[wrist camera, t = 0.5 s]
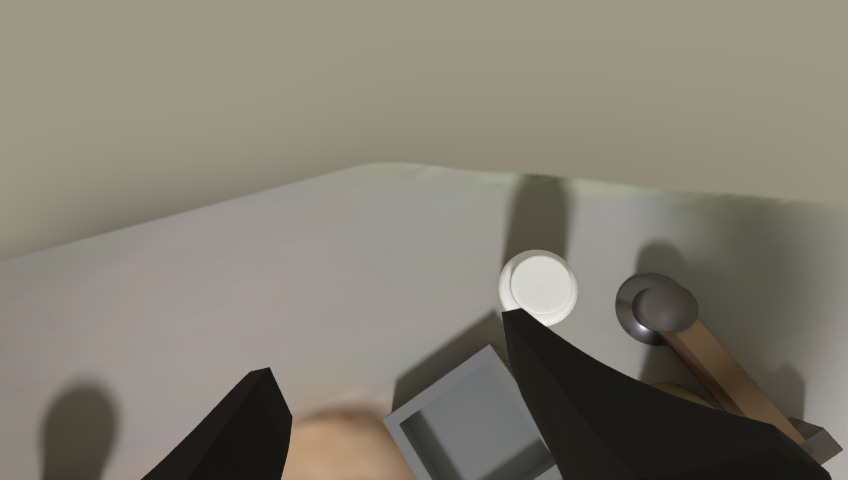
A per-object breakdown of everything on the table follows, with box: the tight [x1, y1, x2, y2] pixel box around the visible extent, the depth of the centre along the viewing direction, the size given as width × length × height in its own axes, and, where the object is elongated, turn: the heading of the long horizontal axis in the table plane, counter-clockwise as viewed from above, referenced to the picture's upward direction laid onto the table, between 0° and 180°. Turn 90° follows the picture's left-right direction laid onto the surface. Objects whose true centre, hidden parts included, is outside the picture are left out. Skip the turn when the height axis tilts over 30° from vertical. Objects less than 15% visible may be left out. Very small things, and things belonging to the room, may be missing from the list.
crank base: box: [615, 274, 680, 346], centre depth 34 cm, size 6×6×1 cm
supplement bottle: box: [498, 250, 578, 326], centre depth 31 cm, size 6×6×10 cm
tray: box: [383, 343, 562, 480], centre depth 33 cm, size 11×11×3 cm
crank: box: [632, 284, 843, 465], centre depth 31 cm, size 15×5×3 cm, turn 35°
